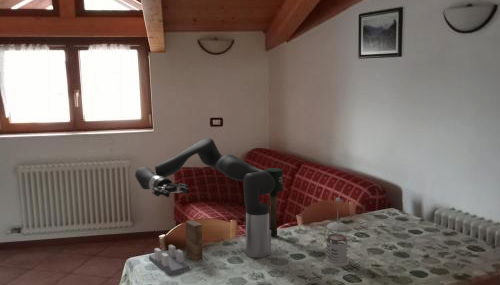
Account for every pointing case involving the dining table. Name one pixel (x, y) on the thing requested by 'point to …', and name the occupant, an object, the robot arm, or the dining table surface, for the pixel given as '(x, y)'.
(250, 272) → the dining table surface
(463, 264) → the dining table surface
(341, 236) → the french press
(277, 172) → the potato masher grenade
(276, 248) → the dining table surface
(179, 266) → the hinge base
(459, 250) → the dining table surface
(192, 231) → the brown wooden block
